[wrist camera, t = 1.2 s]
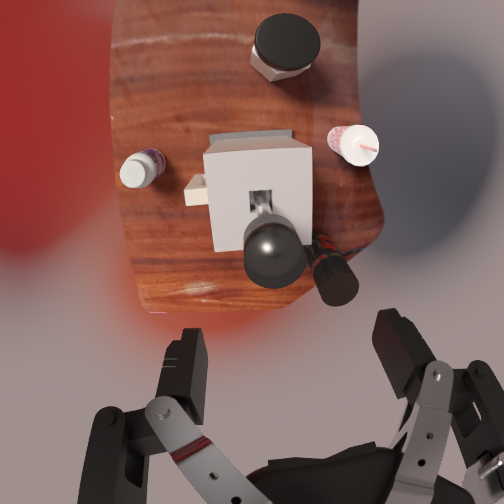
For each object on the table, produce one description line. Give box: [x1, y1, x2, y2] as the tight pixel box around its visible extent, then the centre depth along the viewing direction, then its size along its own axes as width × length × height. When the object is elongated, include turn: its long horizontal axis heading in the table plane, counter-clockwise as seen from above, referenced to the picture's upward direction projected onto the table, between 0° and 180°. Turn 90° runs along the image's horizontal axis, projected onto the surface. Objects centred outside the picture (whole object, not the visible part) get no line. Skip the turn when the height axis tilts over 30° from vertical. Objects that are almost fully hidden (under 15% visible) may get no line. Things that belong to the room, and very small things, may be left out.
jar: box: [250, 13, 320, 82], centre depth 32 cm, size 9×8×12 cm
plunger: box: [243, 190, 307, 289], centre depth 25 cm, size 8×8×16 cm
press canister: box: [184, 129, 312, 252], centre depth 38 cm, size 13×15×18 cm
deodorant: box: [303, 231, 359, 306], centre depth 46 cm, size 6×6×15 cm
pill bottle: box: [120, 148, 166, 188], centre depth 40 cm, size 5×5×10 cm
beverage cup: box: [327, 125, 379, 166], centre depth 38 cm, size 6×6×14 cm
